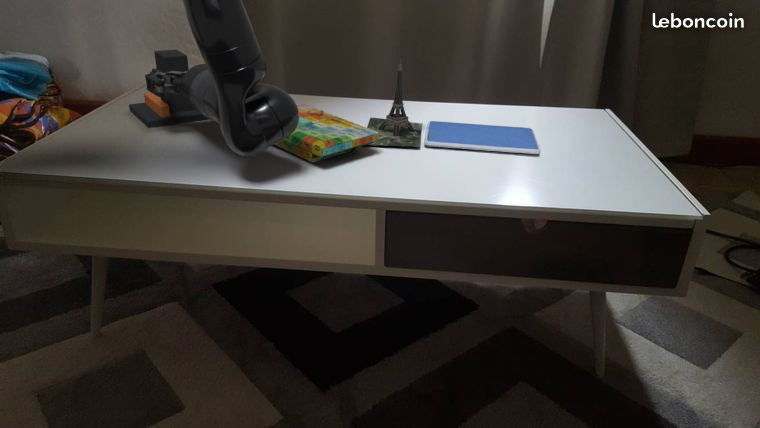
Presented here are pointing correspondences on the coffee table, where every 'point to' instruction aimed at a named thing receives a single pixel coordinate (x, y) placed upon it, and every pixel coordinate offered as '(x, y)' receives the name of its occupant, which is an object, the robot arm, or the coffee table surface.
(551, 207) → the coffee table surface
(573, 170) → the coffee table surface
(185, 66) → the black block
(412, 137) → the eiffel tower figurine
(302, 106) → the puzzle game
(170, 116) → the base pad
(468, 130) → the tablet
